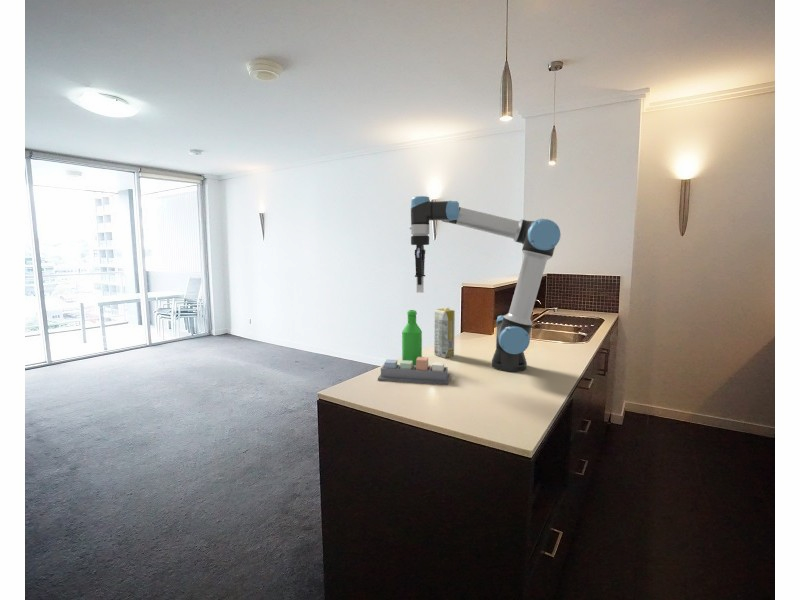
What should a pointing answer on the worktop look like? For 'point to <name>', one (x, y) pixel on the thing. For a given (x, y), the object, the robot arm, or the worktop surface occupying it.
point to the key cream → (438, 366)
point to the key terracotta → (422, 363)
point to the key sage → (406, 364)
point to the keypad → (414, 375)
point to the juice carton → (444, 332)
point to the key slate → (391, 364)
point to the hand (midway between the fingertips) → (420, 292)
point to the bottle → (411, 339)
